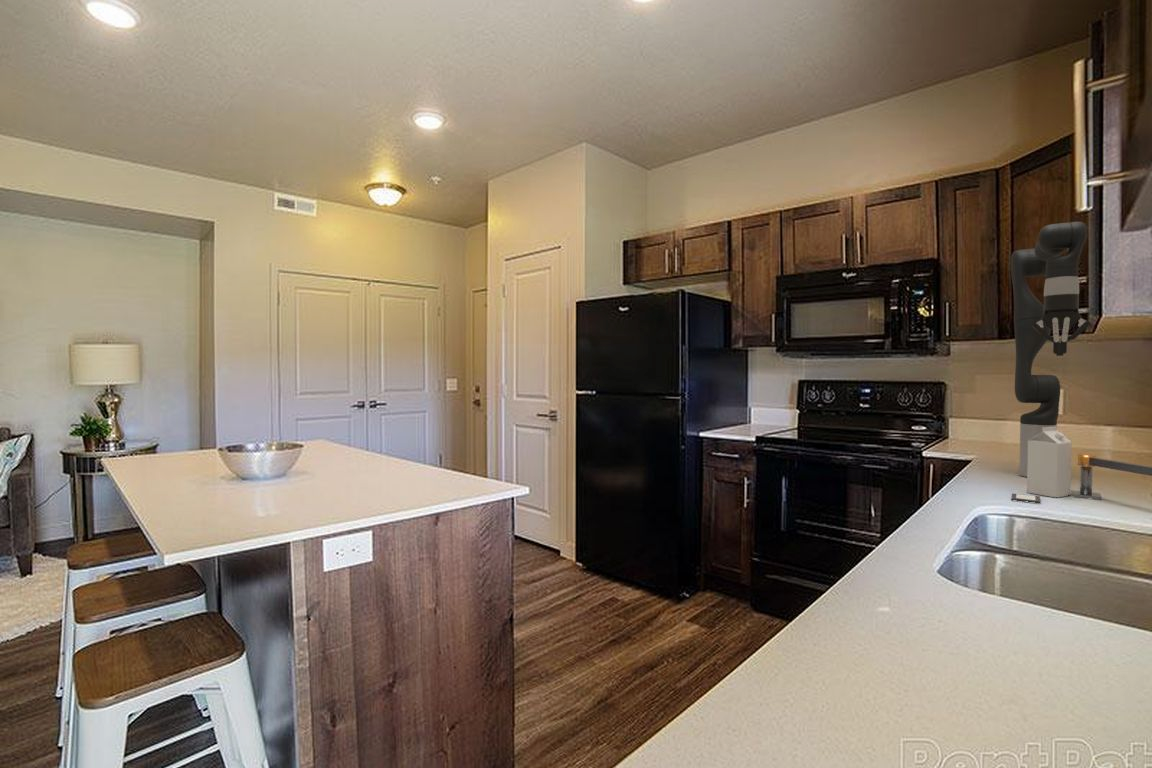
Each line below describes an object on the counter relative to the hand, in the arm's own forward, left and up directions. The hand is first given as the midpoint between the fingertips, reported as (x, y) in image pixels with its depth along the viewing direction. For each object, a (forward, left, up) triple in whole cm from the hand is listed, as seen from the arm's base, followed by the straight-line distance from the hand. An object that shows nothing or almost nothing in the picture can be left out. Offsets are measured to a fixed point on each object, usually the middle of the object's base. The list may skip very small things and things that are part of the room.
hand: (1059, 355), depth 160 cm
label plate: (+17, -7, -39) cm, 43 cm away
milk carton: (+5, -2, -39) cm, 40 cm away
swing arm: (+10, +14, -30) cm, 35 cm away
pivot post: (+2, +6, -39) cm, 40 cm away
